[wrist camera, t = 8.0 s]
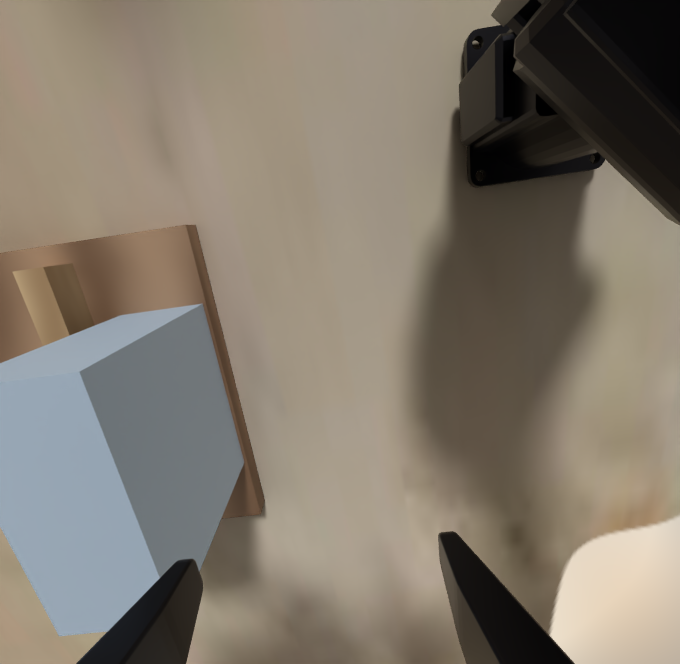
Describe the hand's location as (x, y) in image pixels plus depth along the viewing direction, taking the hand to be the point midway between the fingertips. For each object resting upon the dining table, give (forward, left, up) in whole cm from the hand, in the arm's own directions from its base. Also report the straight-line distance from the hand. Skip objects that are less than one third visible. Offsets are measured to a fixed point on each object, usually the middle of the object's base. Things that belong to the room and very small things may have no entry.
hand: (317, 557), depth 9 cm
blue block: (+8, 0, -11) cm, 14 cm away
